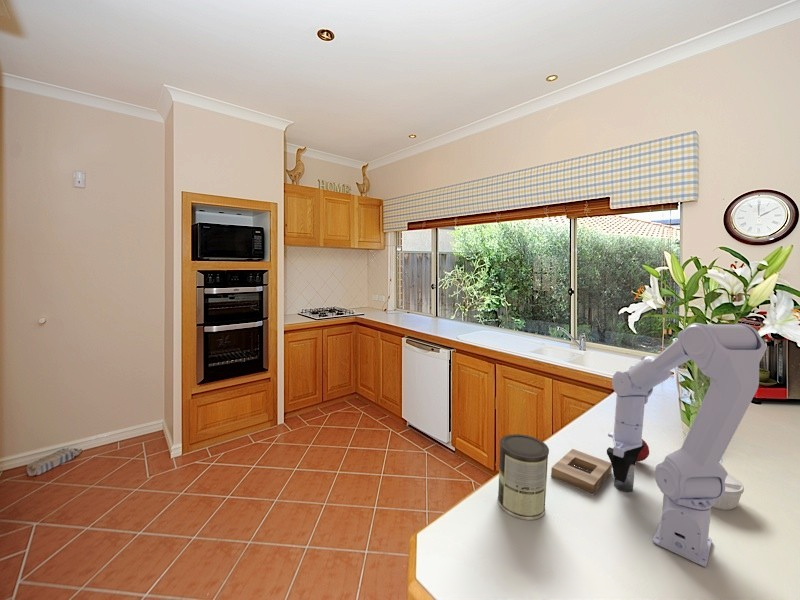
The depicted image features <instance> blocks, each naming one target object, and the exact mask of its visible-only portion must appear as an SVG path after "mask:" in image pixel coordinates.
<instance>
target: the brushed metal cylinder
mask: <svg viewBox="0 0 800 600" xmlns="http://www.w3.org/2000/svg"><path fill="white" fill-rule="evenodd" d="M635 471H636V465H634V464H631V466H630V468H629V471H628V475H627V478H626V480H625V482H624V483H623V482H621V481H618V480H616V479H613V486H614V488H616V490H618V491H621V492H624V493H632V492H634V485H635V484H634V483H635Z"/></svg>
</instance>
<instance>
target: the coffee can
mask: <svg viewBox="0 0 800 600" xmlns="http://www.w3.org/2000/svg"><path fill="white" fill-rule="evenodd" d="M549 452H550V448H549V446H548V445H547V444H546V443H545V442H544V441H542V440H540V439H538V438H537V437H533V436H530V435H525V434H519V433H518V434H514V433H513V434H507V435H505V436H503V437H501V438H500V439H499V470H498V472H499V473H498V492H497V494H498V495H497V504H498V505H499V507H500V508H501V510H503V511H504V512H505V513H506V514H508V515H509V516H512V517H514V518H516V519H520V520H524V521H525V520H526V521H532V520H537V519H540V518H542V517H543V516H544V515H545V513H546V495H547V481H548V480H547V479H548V478H547V477H548V464H549V463H548V461H549V460H548V459H549Z"/></svg>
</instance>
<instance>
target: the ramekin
mask: <svg viewBox="0 0 800 600" xmlns="http://www.w3.org/2000/svg"><path fill="white" fill-rule="evenodd" d="M744 490H745V487H744V484H743V483H742V481H740V480H739V479H737V478H736V477H735V476H733V475H731V474H729V473H728V475H727V477H726V479H725V493H724V495H723V496H722V497H721V498H716V500H715V504H714V505H712V506H711V508H714V509H716V510H717V509H718V510H725V511H727V510H733V509H735V508H736V507H738V505H739V502H740V499H741V497H742V495H743V493H744Z"/></svg>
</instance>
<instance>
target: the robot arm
mask: <svg viewBox="0 0 800 600" xmlns="http://www.w3.org/2000/svg"><path fill="white" fill-rule="evenodd" d="M767 349H768V346H767V344H766V343H765V342H764V339H763V338H762V337H761V335H760V333H759V332H758V330H757V329H756V328H755V327H753V326H752V325H749V324H747V323H735V324H725V323H724V324H720V323H719V324H718V323H717V324H716V323H715V324H712V323H710V324H708V323H707V324H705V323H700V322H694V323H691V324H688V325H687V326H686V327H685V328H684V329H682V330H680V331H679V332H678V334H677V339H676V340H674V341H673V342H672V343H671V344H670V345H668V346H667V347H666V348H665V349H664V350H663V351H662V352H660V353H659V354H658V355H656V356H654V355H653V356H652V355H643V356H642V357H641V358H640V360H639V362H638V363H636V364H635V365H633V366H632V365H631V366H630V367H629V369H628V370H626V371H621V370H620V371H619V370H618V371H617V370H616V372H615V373H614V374H613V375H612V379H611V385H612V389H613V391H614V393H615V394H616V400H615V412H614V413H615V414H614V426H613V431H609V432H608V433H607V437H609V438H611V439H612V442H613V447H607V448H606V455H607V457H608V459H609V462H610V463H611V464H612V473H613V478H614V479H616V480H618V481H621V482H623V483H624V482H625V480H626V478H627V475H628V471H629V468H630V466H631V464H634V465H635V466H636V464H637V462H636V461H637V458H638V456H639V453H640V451H641V450H642V448H643V447H644V446H645V442H646V441H645V442H643V441H642V439H643V427H644V418H645V417H644V416H645V406H646V405H647V404H648V401H649V397H650V396H651V395H652V394H653V390H654V388H655V387H656V386H658V385H660V384H661V383H663V382H665V381H667V380H668V379H669V378H670V376H671V373H672V372H671V371H672V370H673V369H676V368H677V367H678V366H681V365H683V364H685V363H687V362H689V361H690V360H691V361H692V362H693V363H694V364H695V366H696V367H697V369H698V370H700V371H701V373H702V375H704V376H706V377H707V378H709V379H710V384H709V387H708V389H707V391H706V393H705V395H704V397H703V400H702V402H701V403H700V407H699V408H698V411H697V413H696V414H695V417H694V418H693V419H694V420H692V424H691V426H690V428H689V431H688V432H687V435H686V437H685V439H684V441H683V443H682V446H681V448H679V449H677V450H675V451H673V452H671V453H668V454H667V455H666V456H665V457H664V459H663V461H662V462H659V463H658V464H657V465H656V466H655V470H654V480H655V483H656V486H657V487H658V488H659V490H660V492H661V493H662V494H663V497H662V500H663V501H662V509H661V518H660V523H659V525H658V527H657V530H656V532H655V534H654V535H653V539H652V543H654V544H655V545H657V546H659V547H662V548H663V549H666V550H668V551H670V552H672V553H674V554H676V555H679V556H680V557H683V558H685V559H687V560H689V561H691V562H693V563H695V564H697V565H700V566H702V567H704V568H705V567H707V566H708V561H709V556H710V552H711V548H712V543H713V541H712V540H713V539H712V538H710V537H709V535H710V534H709V532H710V526H711V525H710V524H711V513H712V507H711V506H712V505H714V504H715V500H716V498H721V497H722V496H723V495H724V493H725V479H726V477H727V475H728V474H729V472H727V470H726V469H725V467H724V466H723V464H721V460H722V459H723V457H724V454H725V453H726V450H727V449H728V446H729V445H730V443H731V441H732V439H733V437H734V435H735V434H736V431H737V429H738V427H739V425H740V424H741V421H742V419H743V418H744V415H745V414H746V412H747V410H748V408H749V406H750V405H751V402H752V401H753V398H754V396H755V395H756V393H757V391H758V389H759V386H760V362H761V360H762V358H763V357H764V354H765V353H766V352H767V351H766V350H767ZM614 479H613V480H614Z"/></svg>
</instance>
